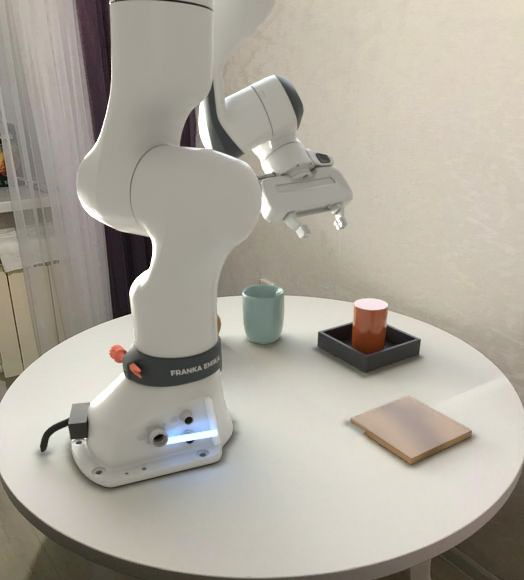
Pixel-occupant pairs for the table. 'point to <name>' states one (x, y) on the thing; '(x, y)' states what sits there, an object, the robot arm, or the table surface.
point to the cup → (263, 313)
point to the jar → (369, 325)
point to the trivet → (411, 429)
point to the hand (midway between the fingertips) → (324, 231)
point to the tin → (395, 350)
